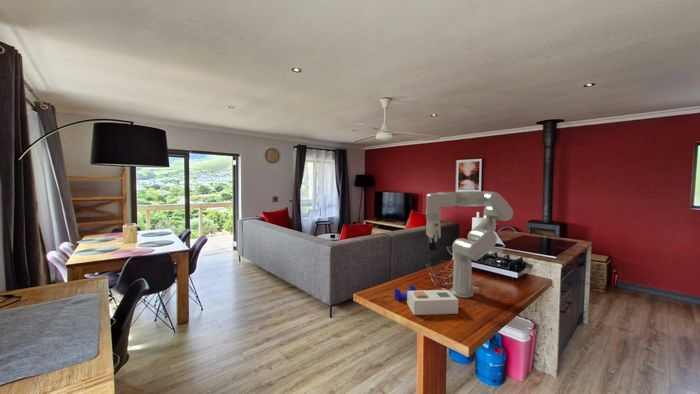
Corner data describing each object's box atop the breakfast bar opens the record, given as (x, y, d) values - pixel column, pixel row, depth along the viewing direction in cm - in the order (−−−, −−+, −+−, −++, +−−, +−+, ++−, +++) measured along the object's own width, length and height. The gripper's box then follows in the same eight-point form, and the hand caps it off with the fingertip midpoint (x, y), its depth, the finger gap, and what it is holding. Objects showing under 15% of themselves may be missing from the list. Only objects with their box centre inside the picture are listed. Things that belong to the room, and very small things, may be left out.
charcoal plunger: (445, 304, 148) (446, 292, 148) (449, 309, 143) (450, 296, 143) (436, 305, 148) (436, 292, 147) (440, 309, 143) (440, 296, 142)
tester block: (447, 302, 152) (448, 289, 151) (457, 313, 140) (458, 299, 140) (407, 303, 150) (407, 290, 150) (414, 314, 138) (414, 300, 138)
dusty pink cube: (423, 303, 147) (423, 291, 147) (426, 307, 142) (427, 295, 142) (413, 303, 147) (414, 291, 146) (416, 308, 142) (417, 295, 141)
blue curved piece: (410, 294, 163) (410, 284, 162) (415, 297, 159) (415, 286, 158) (392, 298, 157) (393, 287, 157) (397, 301, 153) (398, 290, 153)
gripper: (445, 218, 147) (444, 253, 148) (434, 214, 162) (433, 246, 163) (431, 218, 146) (430, 253, 148) (421, 214, 161) (420, 246, 162)
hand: (432, 249), depth 155 cm, fingers closed
